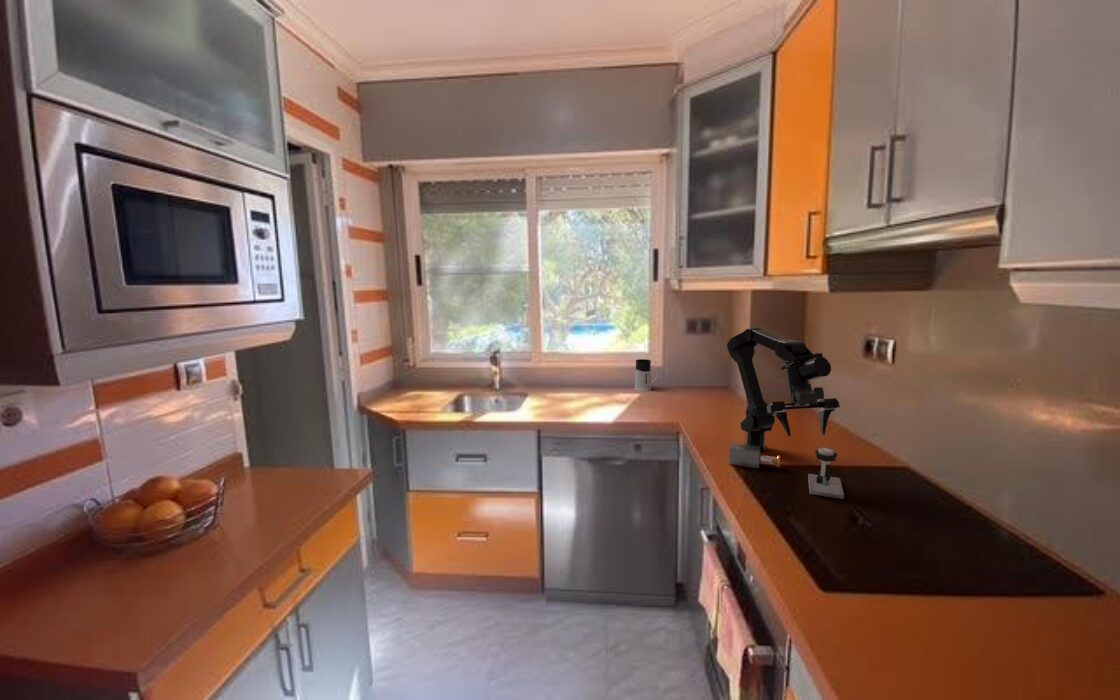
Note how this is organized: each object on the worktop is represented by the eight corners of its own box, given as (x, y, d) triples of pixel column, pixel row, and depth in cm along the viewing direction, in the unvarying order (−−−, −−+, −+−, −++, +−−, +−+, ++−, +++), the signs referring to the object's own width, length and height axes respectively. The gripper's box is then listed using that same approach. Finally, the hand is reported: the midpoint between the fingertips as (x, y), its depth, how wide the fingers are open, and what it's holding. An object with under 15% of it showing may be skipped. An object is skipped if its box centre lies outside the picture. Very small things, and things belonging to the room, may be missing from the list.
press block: (730, 458, 161) (731, 443, 160) (759, 462, 158) (760, 446, 157) (729, 464, 157) (729, 448, 156) (758, 468, 153) (759, 451, 153)
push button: (819, 477, 143) (821, 443, 141) (839, 483, 139) (842, 448, 138) (810, 484, 138) (812, 449, 137) (830, 490, 134) (833, 454, 133)
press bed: (808, 477, 146) (808, 467, 146) (839, 482, 143) (840, 471, 142) (809, 494, 135) (810, 483, 134) (843, 499, 131) (844, 488, 131)
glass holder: (642, 386, 267) (642, 358, 265) (663, 390, 256) (663, 361, 254) (630, 388, 262) (631, 360, 260) (652, 393, 251) (652, 363, 249)
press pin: (749, 460, 158) (749, 450, 158) (779, 464, 155) (780, 454, 154) (748, 464, 155) (748, 453, 155) (779, 468, 152) (780, 457, 151)
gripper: (771, 380, 144) (778, 435, 141) (841, 375, 141) (851, 432, 137) (763, 386, 155) (770, 437, 151) (829, 381, 151) (837, 434, 148)
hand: (806, 435), depth 147 cm, fingers open, 9 cm apart
